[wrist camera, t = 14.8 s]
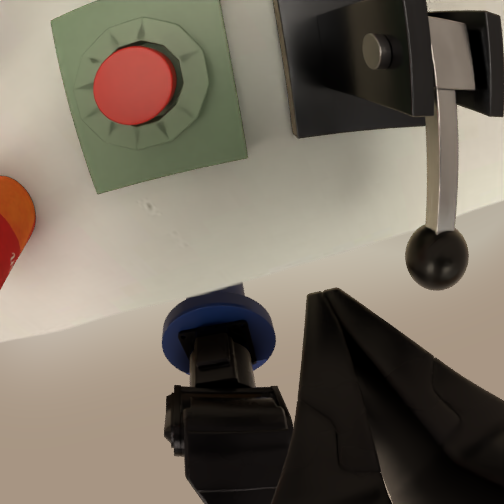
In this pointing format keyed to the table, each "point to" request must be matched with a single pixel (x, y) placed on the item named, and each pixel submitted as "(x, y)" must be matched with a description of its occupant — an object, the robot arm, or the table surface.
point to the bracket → (377, 63)
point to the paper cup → (13, 223)
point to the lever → (443, 163)
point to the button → (134, 85)
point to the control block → (178, 109)
